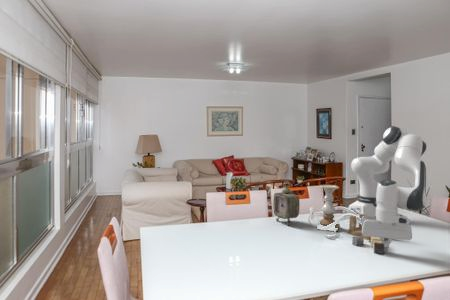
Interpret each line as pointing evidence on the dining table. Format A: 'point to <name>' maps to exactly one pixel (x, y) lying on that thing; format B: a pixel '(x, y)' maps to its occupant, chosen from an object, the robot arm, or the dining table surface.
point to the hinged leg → (377, 245)
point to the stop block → (358, 240)
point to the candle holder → (328, 206)
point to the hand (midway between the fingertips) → (385, 247)
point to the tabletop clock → (286, 204)
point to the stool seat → (357, 230)
